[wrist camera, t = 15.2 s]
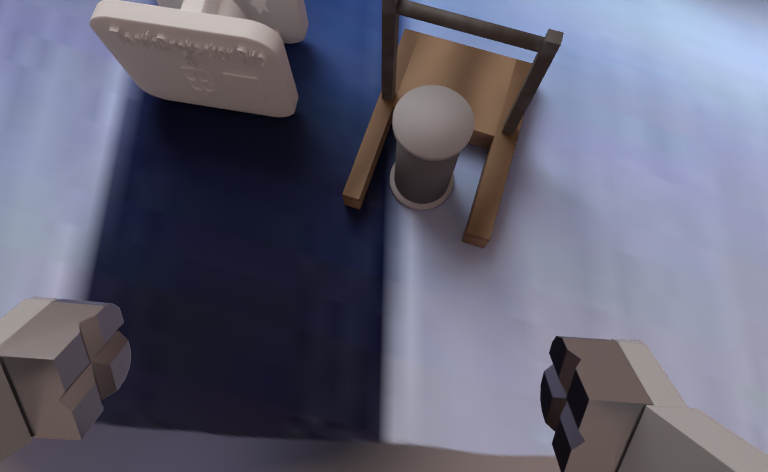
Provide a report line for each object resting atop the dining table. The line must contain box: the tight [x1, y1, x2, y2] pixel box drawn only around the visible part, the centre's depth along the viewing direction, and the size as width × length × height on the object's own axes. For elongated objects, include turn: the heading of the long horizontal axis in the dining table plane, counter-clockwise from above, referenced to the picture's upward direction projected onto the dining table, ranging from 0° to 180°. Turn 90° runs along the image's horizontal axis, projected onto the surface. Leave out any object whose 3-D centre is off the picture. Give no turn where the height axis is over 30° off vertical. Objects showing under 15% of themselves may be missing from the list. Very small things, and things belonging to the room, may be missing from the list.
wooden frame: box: [342, 0, 564, 248], centre depth 39 cm, size 13×18×14 cm
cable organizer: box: [90, 0, 308, 117], centre depth 42 cm, size 15×11×12 cm
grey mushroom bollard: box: [390, 85, 474, 210], centre depth 39 cm, size 6×6×11 cm
